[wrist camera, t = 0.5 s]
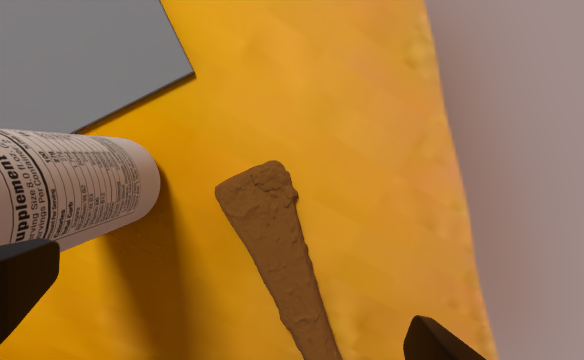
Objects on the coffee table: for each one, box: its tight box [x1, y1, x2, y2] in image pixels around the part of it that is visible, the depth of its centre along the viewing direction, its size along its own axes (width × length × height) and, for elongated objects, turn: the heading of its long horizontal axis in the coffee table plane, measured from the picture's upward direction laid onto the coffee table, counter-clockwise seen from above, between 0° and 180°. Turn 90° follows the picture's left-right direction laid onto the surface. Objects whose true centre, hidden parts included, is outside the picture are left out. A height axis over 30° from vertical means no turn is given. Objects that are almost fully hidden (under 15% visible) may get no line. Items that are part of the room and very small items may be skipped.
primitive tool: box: [215, 160, 343, 360], centre depth 22 cm, size 19×6×4 cm, turn 25°
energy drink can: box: [0, 128, 160, 252], centre depth 16 cm, size 6×6×15 cm
